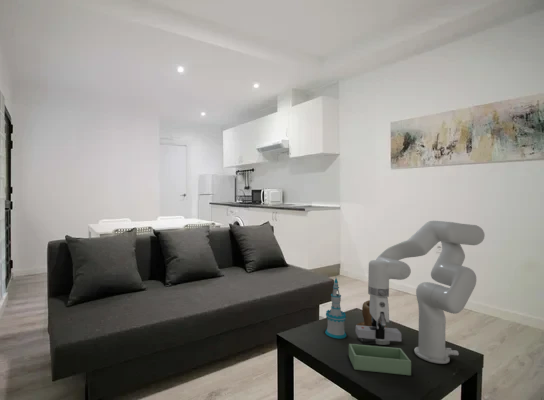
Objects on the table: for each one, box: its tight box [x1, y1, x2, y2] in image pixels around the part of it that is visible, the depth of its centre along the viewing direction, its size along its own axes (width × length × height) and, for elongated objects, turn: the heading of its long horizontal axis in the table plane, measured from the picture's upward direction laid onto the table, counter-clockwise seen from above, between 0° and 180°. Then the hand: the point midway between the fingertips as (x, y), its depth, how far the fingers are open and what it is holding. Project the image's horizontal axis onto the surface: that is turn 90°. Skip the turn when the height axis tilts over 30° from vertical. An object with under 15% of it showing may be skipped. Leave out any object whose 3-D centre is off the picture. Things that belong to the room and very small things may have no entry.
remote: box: [355, 324, 402, 342], centre depth 121 cm, size 16×5×3 cm, turn 79°
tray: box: [348, 343, 412, 376], centre depth 121 cm, size 21×10×6 cm, turn 79°
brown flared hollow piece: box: [356, 299, 388, 328], centre depth 153 cm, size 15×12×15 cm
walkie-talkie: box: [357, 337, 404, 346], centre depth 141 cm, size 9×4×20 cm
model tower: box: [324, 274, 347, 339], centre depth 149 cm, size 10×10×30 cm
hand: (377, 335), depth 121 cm, fingers closed on remote, 4 cm apart
